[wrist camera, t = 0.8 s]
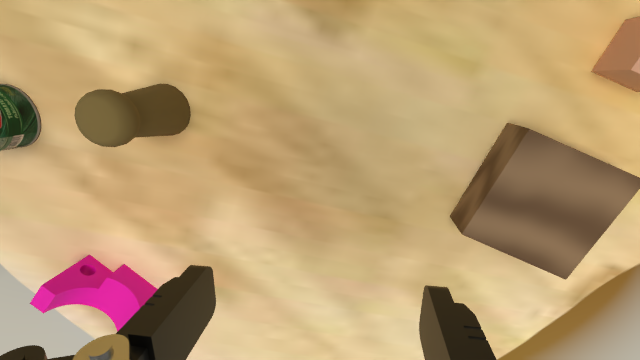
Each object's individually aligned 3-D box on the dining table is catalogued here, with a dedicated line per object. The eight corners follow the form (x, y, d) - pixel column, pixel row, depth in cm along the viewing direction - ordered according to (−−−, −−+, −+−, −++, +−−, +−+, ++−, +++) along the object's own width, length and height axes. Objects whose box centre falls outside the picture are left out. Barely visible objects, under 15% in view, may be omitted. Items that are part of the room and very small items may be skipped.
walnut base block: (505, 122, 34) (529, 129, 30) (606, 167, 35) (646, 180, 30) (449, 215, 38) (461, 234, 34) (540, 255, 38) (565, 279, 34)
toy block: (182, 307, 47) (151, 347, 40) (161, 330, 49) (127, 373, 42) (98, 242, 45) (49, 272, 38) (79, 269, 47) (29, 303, 40)
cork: (169, 145, 39) (101, 168, 29) (132, 108, 39) (48, 118, 28) (200, 112, 38) (139, 123, 27) (162, 72, 37) (84, 68, 26)
